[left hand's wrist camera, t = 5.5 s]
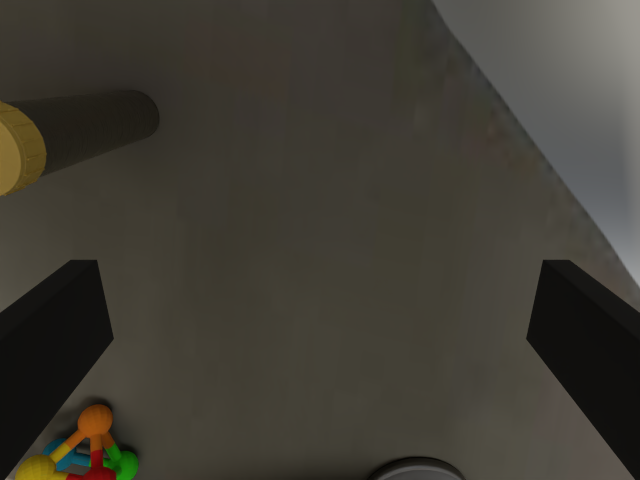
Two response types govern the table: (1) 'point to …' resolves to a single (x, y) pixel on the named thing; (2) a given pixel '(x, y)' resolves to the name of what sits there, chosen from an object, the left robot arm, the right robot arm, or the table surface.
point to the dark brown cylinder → (89, 124)
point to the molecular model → (105, 475)
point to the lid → (19, 150)
